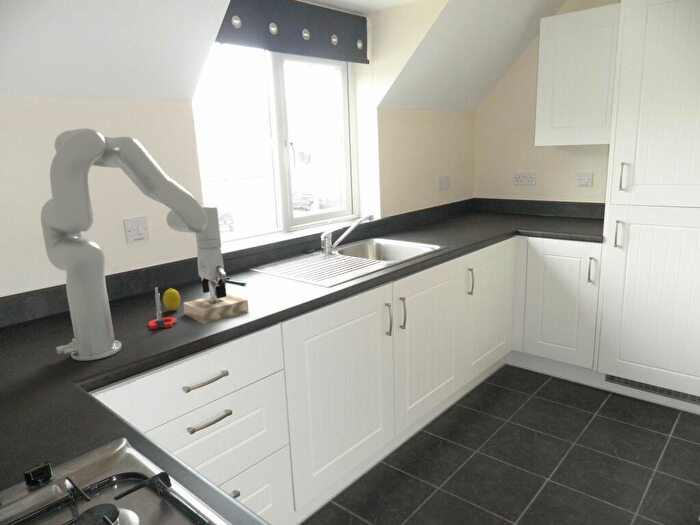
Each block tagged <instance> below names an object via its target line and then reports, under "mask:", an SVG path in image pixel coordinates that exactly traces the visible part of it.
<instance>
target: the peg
mask: <svg viewBox="0 0 700 525" xmlns="http://www.w3.org/2000/svg"><path fill="white" fill-rule="evenodd" d="M208 283H209V292H208V293H209V296H210V300H211V304H216V303H219V302H220V298H219V299H218V298H217V296H216V287H215V286H217V285H216V283H215V281H214V279H213V280H210V281H208Z"/></svg>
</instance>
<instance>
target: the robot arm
mask: <svg viewBox="0 0 700 525" xmlns="http://www.w3.org/2000/svg"><path fill="white" fill-rule="evenodd" d="M54 149H55V152H56V153H55V154H54V157H53V159H52V161H51V164H50V169H49V179H50V180H49V181H50V182H49V183H50V189H51V198H50V199H49V200H47V201H46V202H44V204H43V206H42V208H41V211H40V223H41V229H42V236H43V241H44V245H45V250H46V255H47V258H48V260H49V262H50V264H52V266H53V267H55V268H56V269H58V270H60V271H64V272H65V273H66V279H65V280H66V283H65V284H66V286H65V288H66V295H67V296H66V297H67V301H68V306H69V307H68V308H69V313H70V319H71V323H72V329H73V330H72V331H73V336H74V338H72V339H71V342H69V343H68V344H65V345H60V346H57V347H55V348H56V349H55V350H56V353H57V355H60V354H63V353H64V355H68V354H70V355H71V358H72V359H73V360H76V361H81V362H82V361H84V362H85V361H95V360H99V359H104V358H107V357H110V356H112V355H114V354H117V353H118V352H120V351H121V349H122V347H123V345H122V342H121V341H120V340H117V339H115V334H114V329H113V328H114V327H113V322H112V316H111V309H110V303H109V302H110V301H109V296H108V290H107V289H108V288H107V283H106V257H105V253H104V251H103V249H102V248H101V247H100V246H99V244H97V243H96V242H95V241H93V240H91V239H87V238H83V236H82V234H84V233H86V232H88V231H89V230H90V229H91V228H92V226H93V225H94V213H93V206H92V202H91V201H92V200H91V195H90V190H89V173H90V170H91V167H92V166H93V167H104V168H114V169H115V168H116V169H117V168H118V169H121V170H122V171H123V173H124V174H125V175H126V176H127V177H128V179H129V180H131V182H132V183H133V184H134V185H135V186H136V187H137V188H138V189H139V191H140V192H141V193H142V194H143V195H145V196H146V197H147V198H149V199H150V200H151V199H152V200H154V201H156V202H158V203H160V204H163V205H164V206H166V207H167V208H169V209H170V210H169V212H168V213H167V214H166V219H165V220H166V224H167V225H168V227H169V228H170V229H171V230H174V231H177V232H181V233H191V234H195V239H196V240H195V241H196V246H197V247H196V248H197V252H196V253H197V254H196V255H197V256H196V257H197V272H198V273H197V274H198V276H199V277H200V280H201V286H202V293H204V294H207V293H210V292H209V283H208V281H210V280H214V281H215V283H216V285H217V286H215V287H216V296H217V298H218V299H219V298H223V297H226V292H227V289H226V288H227V287H226V286H227V272H225V266H224V258H223V255H222V249H221V248H222V240H221V232H220V221H219V213H218V212H219V211H218V207H217V206H216V205H215V204H201V203H199V202H198V200H197V199H196V198H195V197H194V196H193V195H192V193H190V192H189V191H188V190H186V189H185V188H184V187H183V186H181V185H180V184H178V183H177V182H176V181H175V180H174V179H172V178H171V177H169V176H168V175H167V174H166V173H165V172H164V171H163V170H162V168H161V167H160V166H159V164H158V163H157V162H156V161H155V160H154V158H153V157H152V156H151V155H150V154H149V152H148V151H147V149H146V148H145V147H144V146H143V145H142V144H141V143H140V141H138V140H137V139H136V138H134V137H130V136H117V137H115V136H114V137H109V136H108V137H107V136H103V134H101V132H99V131H98V130H95V129H94V128H78V129H70V130H65V131H63V132H61V133H60V134H58V135H57V136H56V138H55V140H54Z"/></svg>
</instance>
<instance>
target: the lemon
mask: <svg viewBox="0 0 700 525" xmlns="http://www.w3.org/2000/svg"><path fill="white" fill-rule="evenodd" d="M162 298H163V299H162V302H163V305H164V306H165V308H166V309H168V310H171V311H172V312H174V311H175V310H176V309H177V308H179V306H180V305H181V302H182V301H181V296H180V293H179V291H178V290H176V289H174V288H172V287H169V288H168V289H167V290H165V291H164V293H163V297H162Z"/></svg>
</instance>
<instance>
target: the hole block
mask: <svg viewBox="0 0 700 525" xmlns="http://www.w3.org/2000/svg"><path fill="white" fill-rule="evenodd" d="M248 302H249V301H248V299H246V298H243V297H241V296H238V295H235V294H233V293H230V292H228V291H226V297H223V298H220V302H219V303H216V304H211V300H210V295H209V296H205V297H201V298H197V299H193V300H189V301H185V302H183V304H182V305H183V311H184V315H185V316H187V317H189V318H191V319H193V320H195V321H197V322H199V323H201V324H203V325H205V324H208V322H209V323H211V322H215V320H216V321H219V320H218V319H220V320H222V318H223V319H226V318H225V317H227V318H229V316H230V317H233V315H234V316H237V314H238V315H241V314H244V313H243V312H245V313H248V312H247V311H249V303H248ZM240 313H241V314H240Z"/></svg>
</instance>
